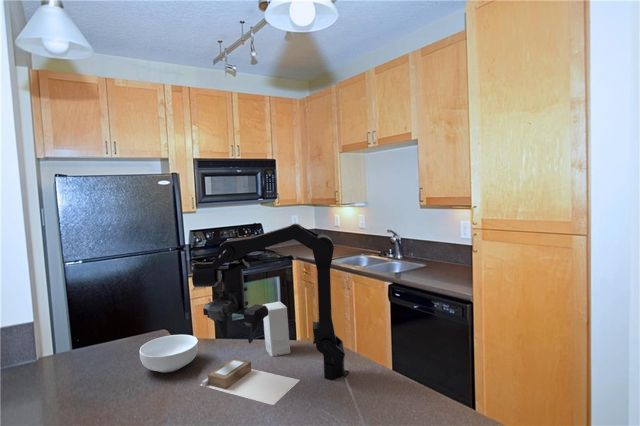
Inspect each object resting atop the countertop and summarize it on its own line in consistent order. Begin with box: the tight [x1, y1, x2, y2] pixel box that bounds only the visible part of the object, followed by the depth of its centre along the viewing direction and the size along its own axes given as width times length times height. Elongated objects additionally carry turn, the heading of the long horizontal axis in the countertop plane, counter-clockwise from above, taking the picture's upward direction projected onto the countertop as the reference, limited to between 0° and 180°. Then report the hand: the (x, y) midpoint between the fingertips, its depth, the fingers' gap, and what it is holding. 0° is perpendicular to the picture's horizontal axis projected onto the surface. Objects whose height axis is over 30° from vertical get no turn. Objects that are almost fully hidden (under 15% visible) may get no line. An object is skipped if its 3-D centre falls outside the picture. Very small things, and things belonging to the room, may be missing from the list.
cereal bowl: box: [139, 334, 199, 373], centre depth 117 cm, size 17×17×7 cm
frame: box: [207, 357, 252, 390], centre depth 107 cm, size 11×6×3 cm, turn 153°
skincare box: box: [262, 301, 291, 357], centre depth 124 cm, size 8×7×16 cm
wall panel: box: [200, 368, 301, 406], centre depth 104 cm, size 13×24×2 cm, turn 63°
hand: (237, 340), depth 106 cm, fingers open, 9 cm apart
